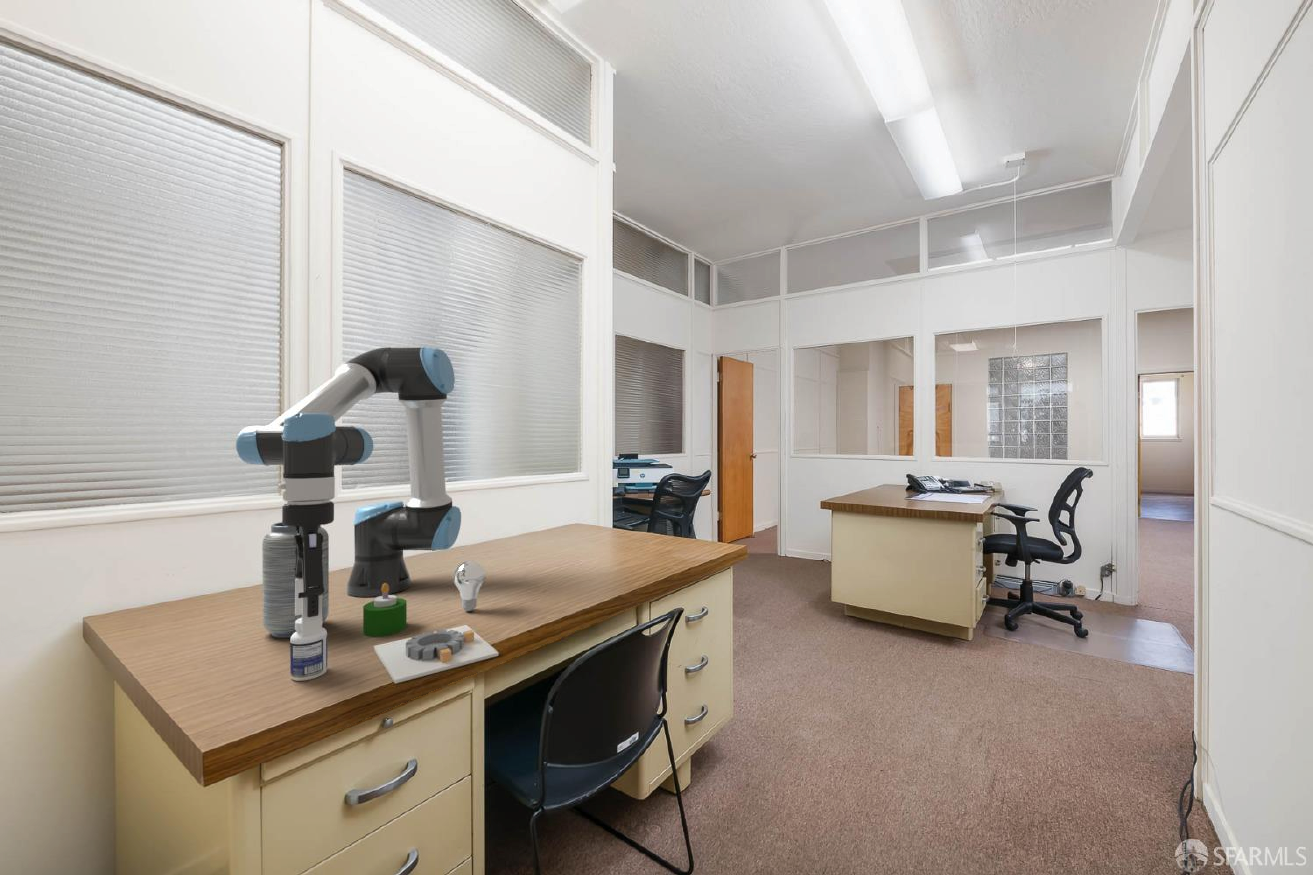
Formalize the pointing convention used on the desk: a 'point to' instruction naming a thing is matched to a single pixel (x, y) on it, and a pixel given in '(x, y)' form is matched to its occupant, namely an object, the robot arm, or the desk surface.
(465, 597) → the light bulb
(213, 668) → the desk surface
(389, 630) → the candle
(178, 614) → the desk surface
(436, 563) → the desk surface
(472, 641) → the socket
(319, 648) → the pill bottle
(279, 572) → the vase
